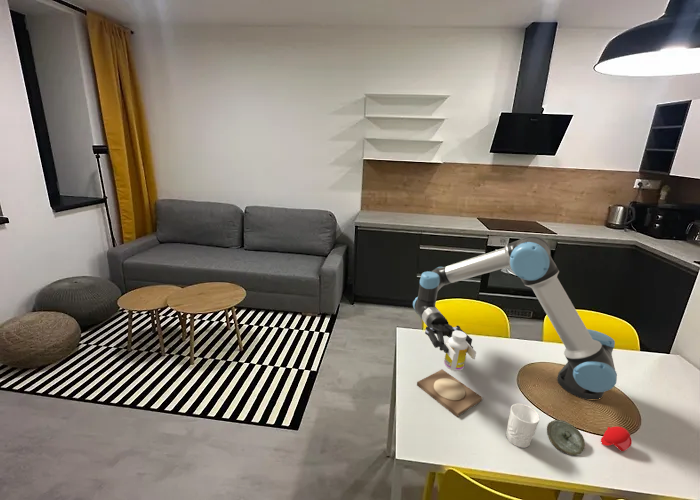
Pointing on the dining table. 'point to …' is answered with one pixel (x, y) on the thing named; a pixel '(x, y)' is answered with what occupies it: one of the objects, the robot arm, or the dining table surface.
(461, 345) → the supplement bottle
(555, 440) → the lid
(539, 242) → the robot arm
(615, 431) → the cap
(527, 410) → the white cup
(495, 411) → the dining table surface
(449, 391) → the walnut board
